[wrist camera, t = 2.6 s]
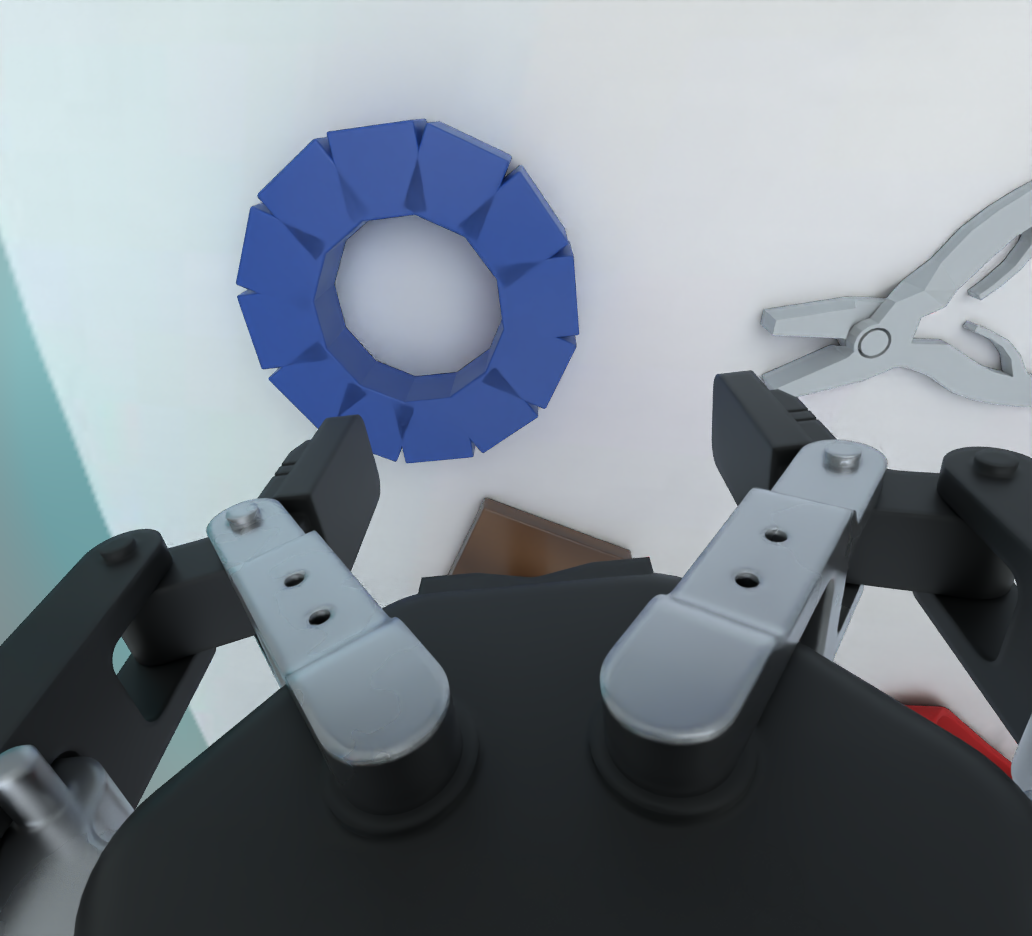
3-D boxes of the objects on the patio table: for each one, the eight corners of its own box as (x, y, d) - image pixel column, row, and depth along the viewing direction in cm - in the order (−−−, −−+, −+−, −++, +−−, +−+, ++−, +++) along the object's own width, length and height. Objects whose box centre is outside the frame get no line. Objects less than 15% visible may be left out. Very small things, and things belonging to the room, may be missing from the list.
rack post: (485, 496, 30) (460, 687, 20) (630, 550, 32) (675, 753, 22) (431, 608, 34) (388, 816, 24) (563, 652, 35) (575, 865, 25)
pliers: (1157, 400, 25) (776, 468, 27) (1125, 385, 26) (764, 450, 28) (1241, 129, 20) (770, 236, 22) (1196, 128, 22) (756, 228, 24)
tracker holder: (828, 823, 41) (832, 769, 34) (818, 754, 44) (820, 692, 37) (1054, 845, 37) (1109, 788, 30) (1026, 767, 40) (1071, 699, 33)
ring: (308, 58, 21) (279, 52, 19) (627, 211, 23) (638, 222, 21) (242, 369, 27) (213, 395, 25) (502, 468, 29) (500, 501, 27)
